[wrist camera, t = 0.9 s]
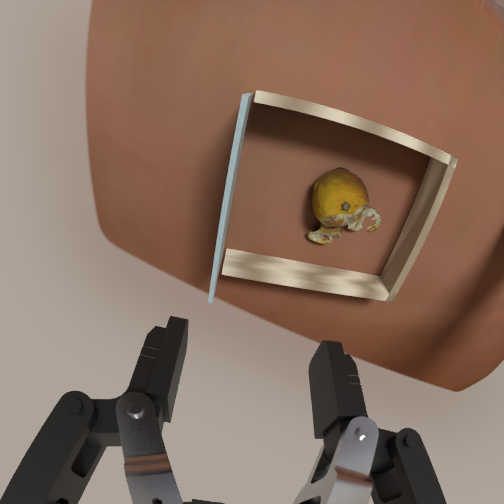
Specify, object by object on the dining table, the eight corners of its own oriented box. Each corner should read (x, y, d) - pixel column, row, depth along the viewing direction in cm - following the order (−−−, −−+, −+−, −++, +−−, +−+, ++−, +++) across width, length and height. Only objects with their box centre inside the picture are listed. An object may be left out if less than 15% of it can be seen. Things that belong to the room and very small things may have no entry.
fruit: (312, 247, 32) (317, 266, 29) (289, 179, 28) (293, 193, 25) (381, 225, 30) (392, 242, 27) (366, 156, 26) (380, 166, 23)
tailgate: (252, 93, 23) (248, 95, 16) (222, 254, 32) (212, 303, 25) (248, 93, 23) (242, 94, 16) (219, 253, 32) (208, 302, 25)
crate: (440, 150, 24) (458, 159, 22) (383, 283, 34) (392, 301, 31) (257, 90, 23) (256, 90, 20) (225, 255, 33) (221, 274, 30)
